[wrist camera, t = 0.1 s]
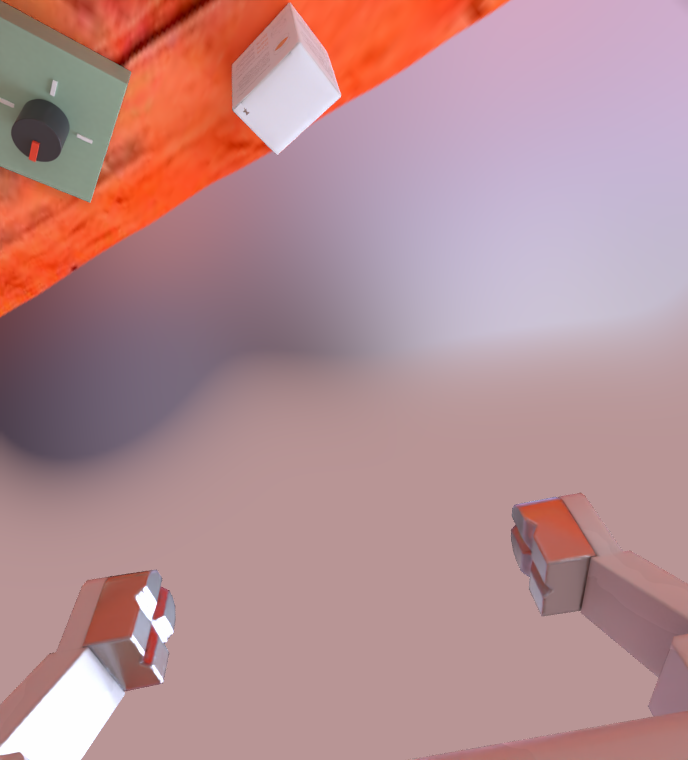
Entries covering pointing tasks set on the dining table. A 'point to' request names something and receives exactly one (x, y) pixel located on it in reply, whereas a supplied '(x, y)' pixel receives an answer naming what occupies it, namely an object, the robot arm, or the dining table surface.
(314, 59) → the small box
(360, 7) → the dining table surface
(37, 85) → the dial console
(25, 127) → the dial
